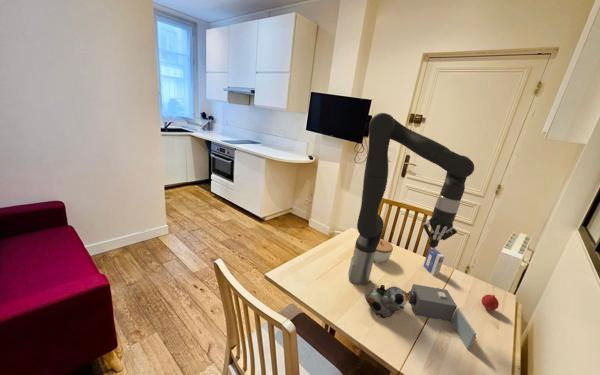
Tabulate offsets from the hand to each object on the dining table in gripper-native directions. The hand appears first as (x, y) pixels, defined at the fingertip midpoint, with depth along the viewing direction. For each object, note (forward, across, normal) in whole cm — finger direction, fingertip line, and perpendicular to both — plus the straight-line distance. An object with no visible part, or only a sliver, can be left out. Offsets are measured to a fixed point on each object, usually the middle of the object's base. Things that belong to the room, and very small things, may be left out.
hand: (432, 246), depth 100 cm
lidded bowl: (+27, -13, +26) cm, 40 cm away
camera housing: (+26, +5, -5) cm, 27 cm away
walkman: (+27, +14, +24) cm, 39 cm away
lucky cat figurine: (+27, -14, -10) cm, 32 cm away
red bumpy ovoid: (+26, +31, +3) cm, 41 cm away
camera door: (+26, +13, -15) cm, 33 cm away
